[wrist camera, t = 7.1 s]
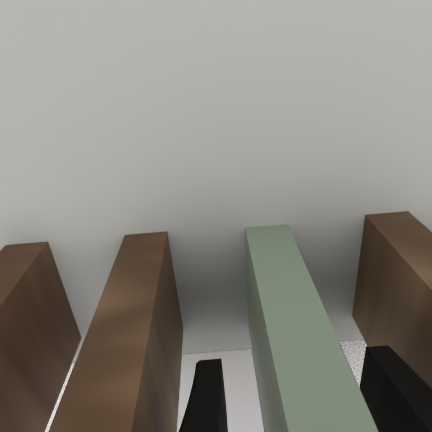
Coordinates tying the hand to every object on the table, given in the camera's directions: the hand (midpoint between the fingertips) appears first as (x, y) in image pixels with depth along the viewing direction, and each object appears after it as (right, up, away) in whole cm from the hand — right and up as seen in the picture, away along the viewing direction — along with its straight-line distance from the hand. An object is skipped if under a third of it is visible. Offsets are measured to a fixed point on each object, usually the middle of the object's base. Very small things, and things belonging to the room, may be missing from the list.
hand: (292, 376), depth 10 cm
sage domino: (0, +2, +4) cm, 5 cm away
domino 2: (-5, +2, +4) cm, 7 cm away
